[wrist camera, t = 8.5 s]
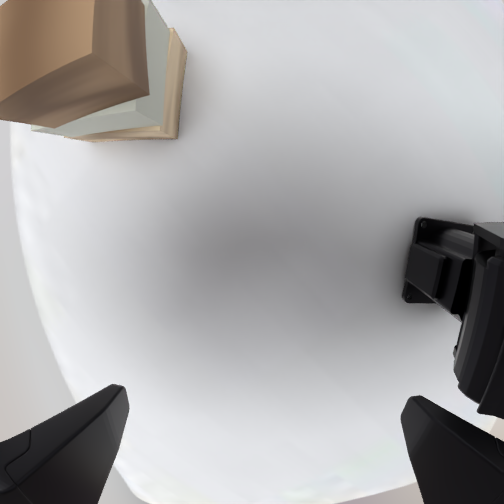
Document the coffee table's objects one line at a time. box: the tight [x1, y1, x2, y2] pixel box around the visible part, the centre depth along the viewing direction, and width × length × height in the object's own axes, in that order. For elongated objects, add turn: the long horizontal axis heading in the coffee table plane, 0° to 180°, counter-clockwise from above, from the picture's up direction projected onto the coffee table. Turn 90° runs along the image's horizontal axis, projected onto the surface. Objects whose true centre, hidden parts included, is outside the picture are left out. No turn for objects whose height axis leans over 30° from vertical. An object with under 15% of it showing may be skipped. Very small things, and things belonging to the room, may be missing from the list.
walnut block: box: [0, 0, 150, 129], centre depth 8 cm, size 5×5×5 cm
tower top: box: [31, 0, 170, 137], centre depth 12 cm, size 6×6×4 cm
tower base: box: [64, 28, 187, 142], centre depth 16 cm, size 6×6×4 cm
